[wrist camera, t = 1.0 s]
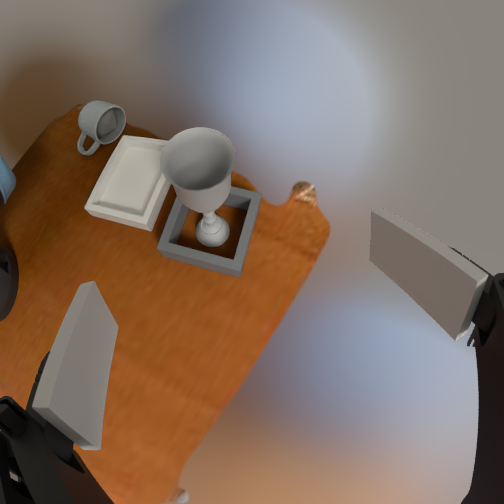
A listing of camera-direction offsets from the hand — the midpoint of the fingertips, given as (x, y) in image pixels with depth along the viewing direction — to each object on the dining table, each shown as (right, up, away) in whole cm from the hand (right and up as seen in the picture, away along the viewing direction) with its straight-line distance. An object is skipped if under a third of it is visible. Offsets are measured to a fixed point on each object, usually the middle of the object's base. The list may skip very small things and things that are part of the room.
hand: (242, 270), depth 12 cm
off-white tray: (-19, +12, +30) cm, 38 cm away
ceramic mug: (-29, +23, +33) cm, 50 cm away
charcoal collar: (-5, +4, +28) cm, 29 cm away
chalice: (-5, +4, +28) cm, 29 cm away
